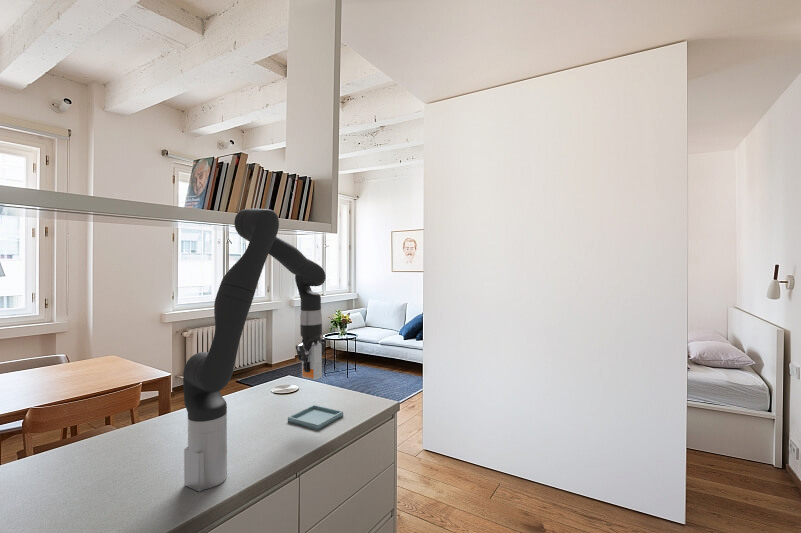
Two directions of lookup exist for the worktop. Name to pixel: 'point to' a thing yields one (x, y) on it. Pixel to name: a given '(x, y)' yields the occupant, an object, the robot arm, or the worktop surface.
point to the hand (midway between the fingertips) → (312, 369)
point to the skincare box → (314, 363)
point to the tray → (315, 417)
